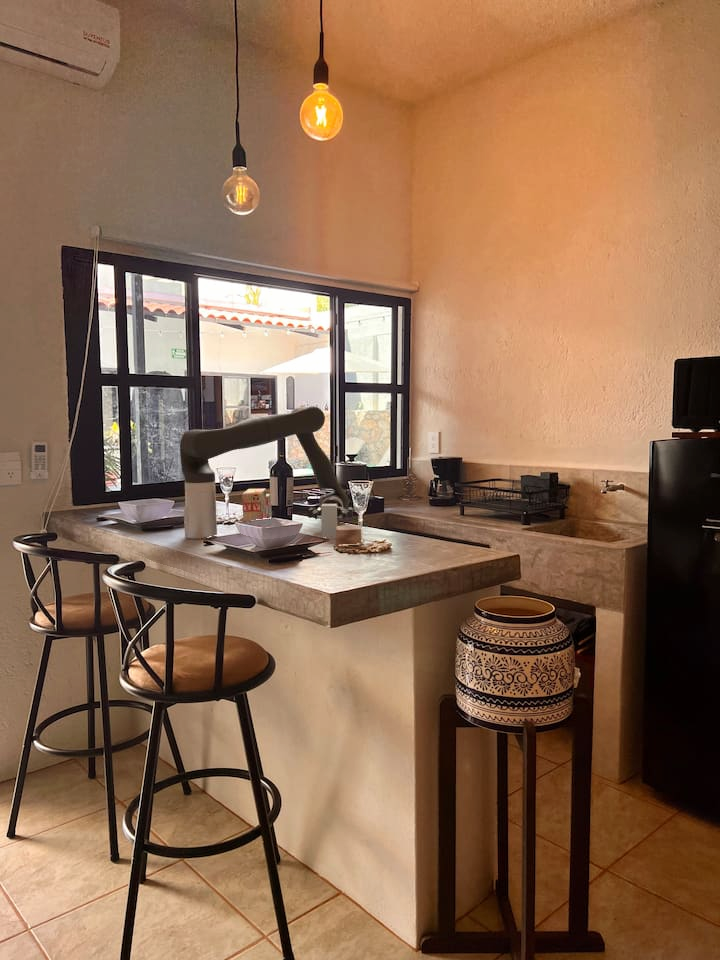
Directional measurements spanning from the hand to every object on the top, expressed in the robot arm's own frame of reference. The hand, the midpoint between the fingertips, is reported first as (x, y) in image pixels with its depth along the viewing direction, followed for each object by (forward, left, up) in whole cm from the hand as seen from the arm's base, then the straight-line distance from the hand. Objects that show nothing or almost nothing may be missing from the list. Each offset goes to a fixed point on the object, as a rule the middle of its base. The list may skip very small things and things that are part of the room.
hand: (329, 515), depth 214 cm
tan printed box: (-26, +22, -6) cm, 35 cm away
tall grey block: (0, -4, -6) cm, 7 cm away
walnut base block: (+6, -15, -6) cm, 17 cm away
